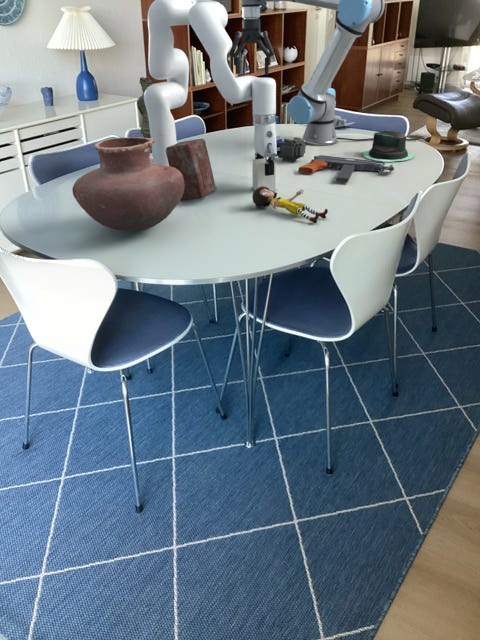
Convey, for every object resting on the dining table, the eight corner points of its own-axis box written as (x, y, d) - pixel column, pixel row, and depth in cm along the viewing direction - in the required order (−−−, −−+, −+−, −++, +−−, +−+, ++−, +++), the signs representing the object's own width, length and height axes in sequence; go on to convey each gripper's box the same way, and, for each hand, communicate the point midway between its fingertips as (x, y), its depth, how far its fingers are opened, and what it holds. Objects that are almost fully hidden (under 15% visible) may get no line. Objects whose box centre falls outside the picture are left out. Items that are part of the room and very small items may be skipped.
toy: (275, 134, 227) (308, 138, 220) (275, 155, 231) (307, 159, 224) (264, 138, 221) (297, 142, 214) (264, 160, 225) (297, 164, 218)
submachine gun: (291, 170, 202) (317, 154, 221) (291, 177, 204) (317, 161, 222) (376, 180, 189) (396, 162, 207) (375, 188, 190) (395, 170, 209)
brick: (275, 190, 191) (275, 161, 186) (257, 192, 189) (257, 163, 184) (270, 186, 196) (270, 157, 191) (252, 188, 194) (252, 159, 189)
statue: (170, 147, 247) (164, 74, 232) (162, 152, 239) (156, 77, 224) (146, 146, 250) (139, 74, 234) (138, 151, 242) (130, 77, 226)
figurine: (311, 212, 157) (243, 186, 169) (307, 236, 161) (241, 209, 173) (335, 200, 165) (269, 176, 178) (331, 223, 170) (266, 198, 182)
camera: (330, 99, 279) (356, 102, 271) (329, 123, 285) (354, 127, 277) (320, 101, 274) (346, 105, 265) (319, 126, 280) (344, 130, 271)
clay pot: (119, 206, 179) (108, 126, 166) (203, 217, 169) (199, 132, 156) (58, 240, 155) (40, 149, 142) (152, 255, 144) (142, 159, 132)
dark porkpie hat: (354, 155, 225) (369, 146, 240) (391, 182, 222) (404, 171, 237) (375, 123, 215) (389, 115, 230) (414, 151, 213) (426, 141, 228)
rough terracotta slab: (94, 159, 190) (189, 144, 170) (112, 152, 198) (205, 137, 178) (110, 208, 198) (203, 199, 177) (127, 200, 205) (218, 190, 185)
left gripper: (284, 122, 174) (284, 176, 183) (266, 113, 189) (266, 164, 197) (262, 124, 173) (262, 179, 181) (245, 115, 187) (246, 166, 196)
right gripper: (282, 17, 230) (282, 73, 241) (227, 18, 239) (229, 72, 249) (276, 18, 224) (276, 75, 235) (220, 19, 233) (222, 74, 243)
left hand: (264, 171), depth 189 cm, fingers open, 9 cm apart
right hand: (252, 73), depth 242 cm, fingers open, 13 cm apart
